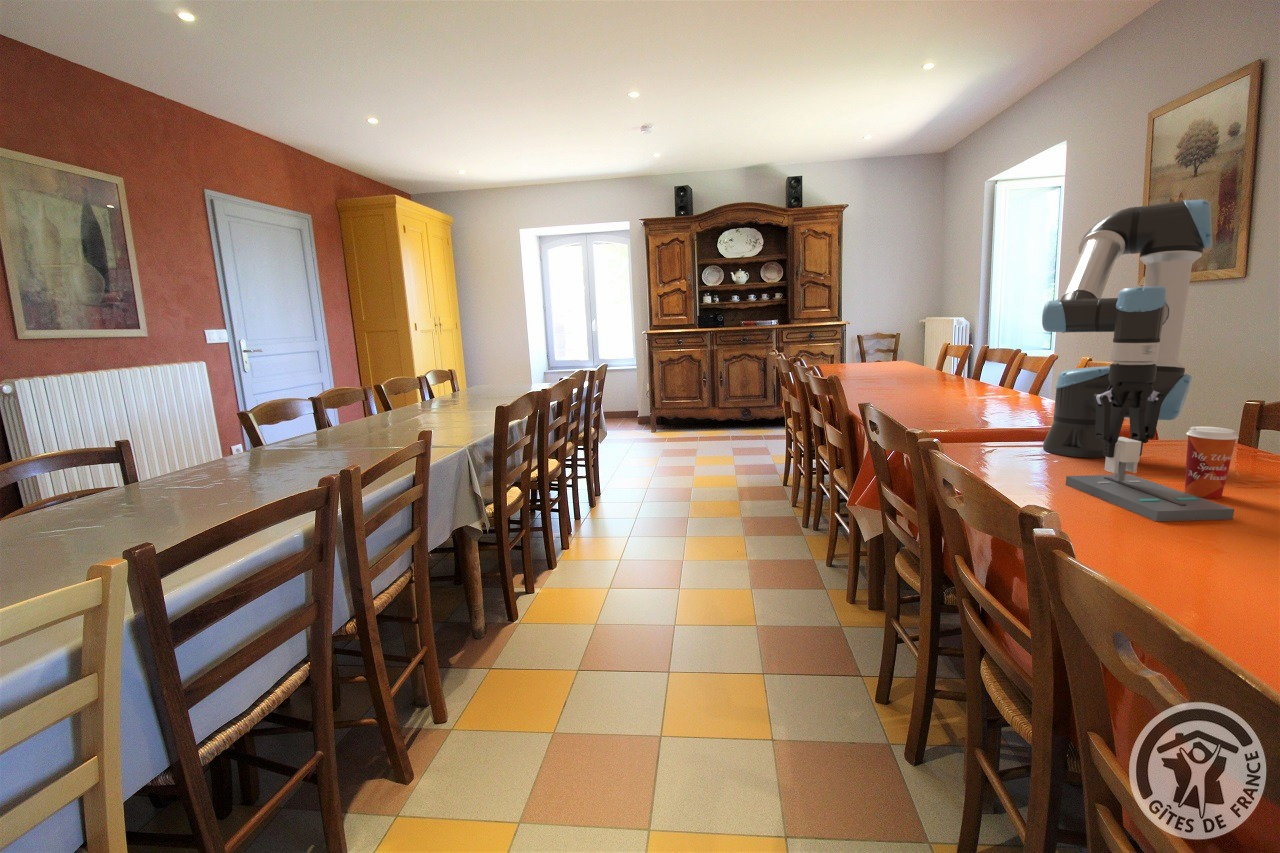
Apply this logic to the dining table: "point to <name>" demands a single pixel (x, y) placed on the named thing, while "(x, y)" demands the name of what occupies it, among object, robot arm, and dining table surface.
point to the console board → (1150, 498)
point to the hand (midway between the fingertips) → (1120, 471)
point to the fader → (1127, 455)
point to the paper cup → (1208, 460)
